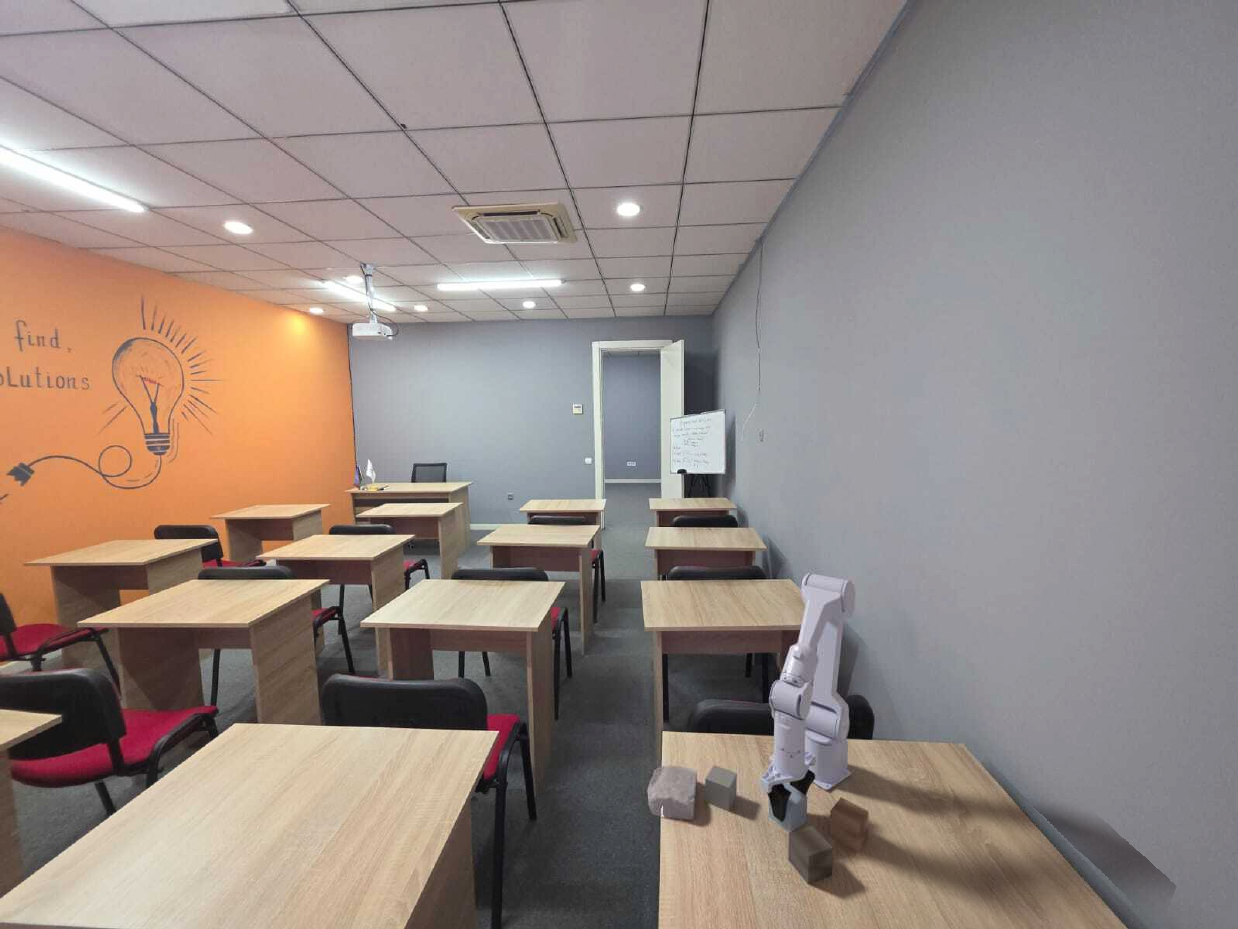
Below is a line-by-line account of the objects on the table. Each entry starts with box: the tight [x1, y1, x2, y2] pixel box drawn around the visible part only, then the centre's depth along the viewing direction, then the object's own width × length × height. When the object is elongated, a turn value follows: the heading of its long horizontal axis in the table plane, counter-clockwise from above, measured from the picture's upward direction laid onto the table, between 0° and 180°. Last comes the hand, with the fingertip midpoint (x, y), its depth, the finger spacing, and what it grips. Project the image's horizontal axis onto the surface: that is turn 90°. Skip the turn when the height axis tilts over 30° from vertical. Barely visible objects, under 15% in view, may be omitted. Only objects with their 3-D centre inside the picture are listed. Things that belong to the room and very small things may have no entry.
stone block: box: [647, 764, 698, 821], centre depth 100 cm, size 12×5×10 cm
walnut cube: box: [829, 796, 870, 853], centre depth 90 cm, size 5×5×5 cm
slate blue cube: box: [768, 782, 808, 833], centre depth 95 cm, size 5×5×5 cm
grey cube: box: [704, 764, 738, 812], centre depth 100 cm, size 5×5×5 cm
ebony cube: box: [787, 825, 834, 885], centre depth 84 cm, size 5×5×5 cm
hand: (787, 811), depth 95 cm, fingers closed on slate blue cube, 5 cm apart
